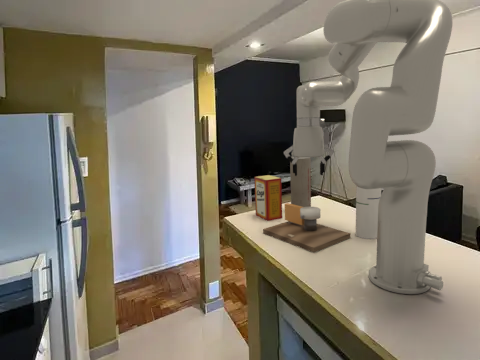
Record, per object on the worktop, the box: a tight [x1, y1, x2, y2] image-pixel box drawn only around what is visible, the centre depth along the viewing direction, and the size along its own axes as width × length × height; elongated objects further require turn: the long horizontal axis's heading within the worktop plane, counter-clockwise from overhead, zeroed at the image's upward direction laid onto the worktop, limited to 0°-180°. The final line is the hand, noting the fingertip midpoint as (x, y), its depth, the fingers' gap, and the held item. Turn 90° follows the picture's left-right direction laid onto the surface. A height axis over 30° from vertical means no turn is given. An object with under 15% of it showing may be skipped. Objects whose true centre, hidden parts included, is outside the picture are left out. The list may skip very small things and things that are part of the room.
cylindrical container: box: [355, 185, 382, 240], centre depth 99 cm, size 7×7×25 cm
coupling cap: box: [284, 202, 321, 225], centre depth 107 cm, size 14×8×6 cm, turn 36°
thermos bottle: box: [289, 150, 312, 207], centre depth 128 cm, size 8×8×28 cm
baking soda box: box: [253, 174, 283, 222], centre depth 125 cm, size 10×6×16 cm
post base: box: [262, 219, 351, 253], centre depth 103 cm, size 22×17×6 cm
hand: (308, 174), depth 110 cm, fingers open, 8 cm apart
